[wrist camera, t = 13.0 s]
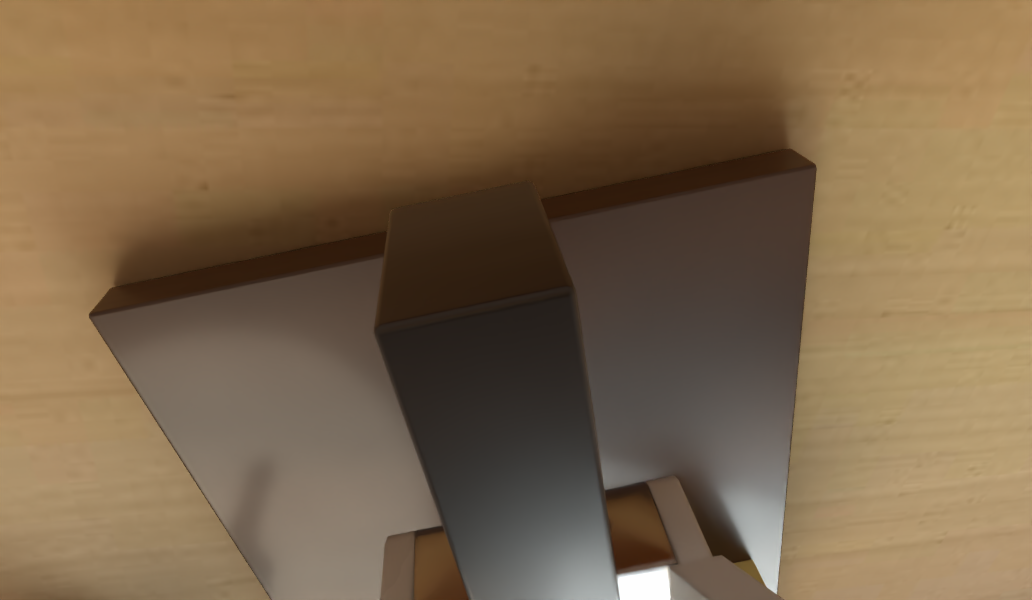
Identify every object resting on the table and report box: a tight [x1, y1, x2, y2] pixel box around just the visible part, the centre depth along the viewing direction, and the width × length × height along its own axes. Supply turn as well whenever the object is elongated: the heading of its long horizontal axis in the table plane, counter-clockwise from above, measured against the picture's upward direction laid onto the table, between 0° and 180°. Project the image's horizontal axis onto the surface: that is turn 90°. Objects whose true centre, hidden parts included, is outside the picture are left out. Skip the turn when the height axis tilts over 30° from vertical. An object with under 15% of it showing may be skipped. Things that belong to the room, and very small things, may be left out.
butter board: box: [89, 149, 817, 600], centre depth 20 cm, size 22×16×1 cm
